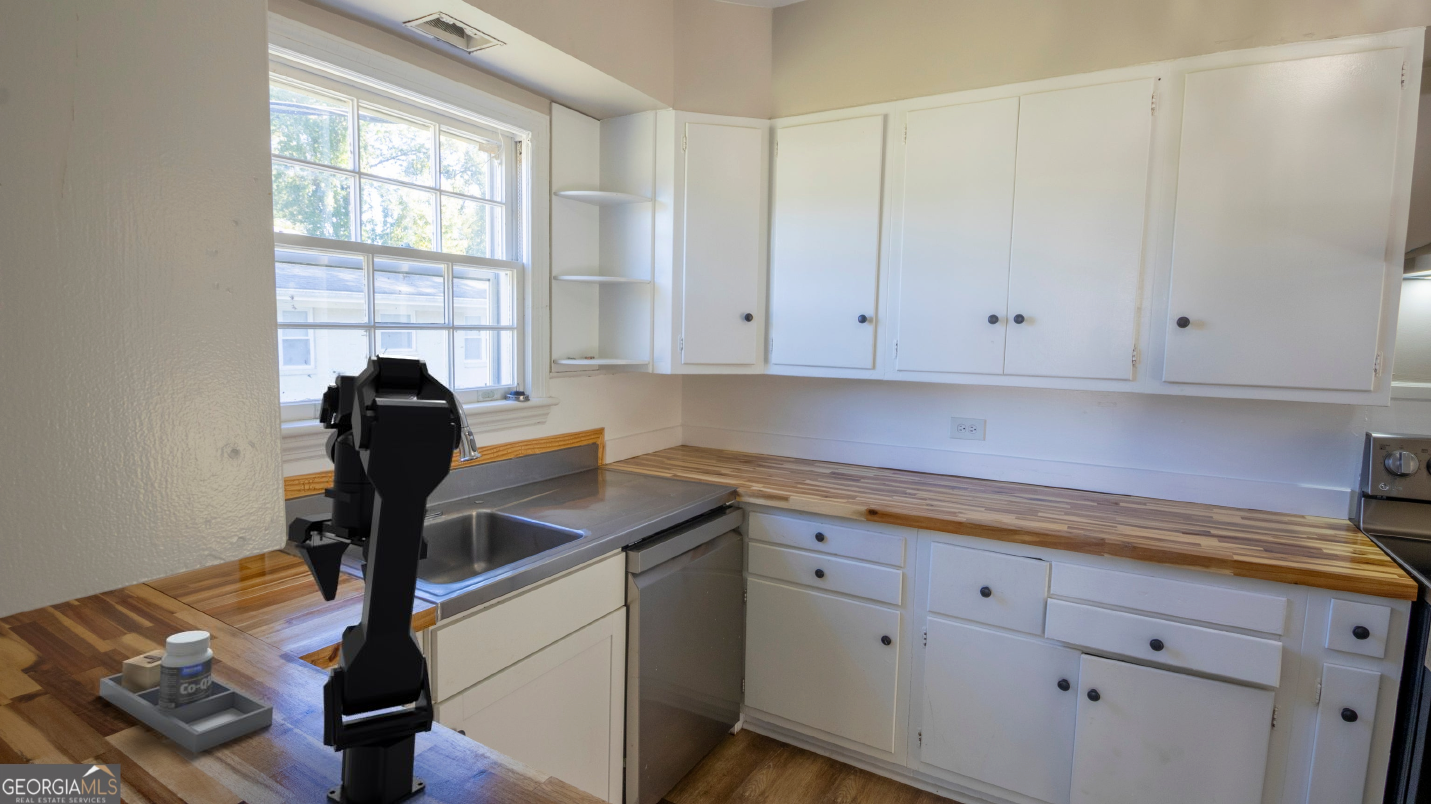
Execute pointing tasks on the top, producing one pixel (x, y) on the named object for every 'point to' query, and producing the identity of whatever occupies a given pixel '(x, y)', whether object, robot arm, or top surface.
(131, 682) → the letter cube
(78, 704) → the top surface
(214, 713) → the bay dish
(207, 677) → the pill bottle
